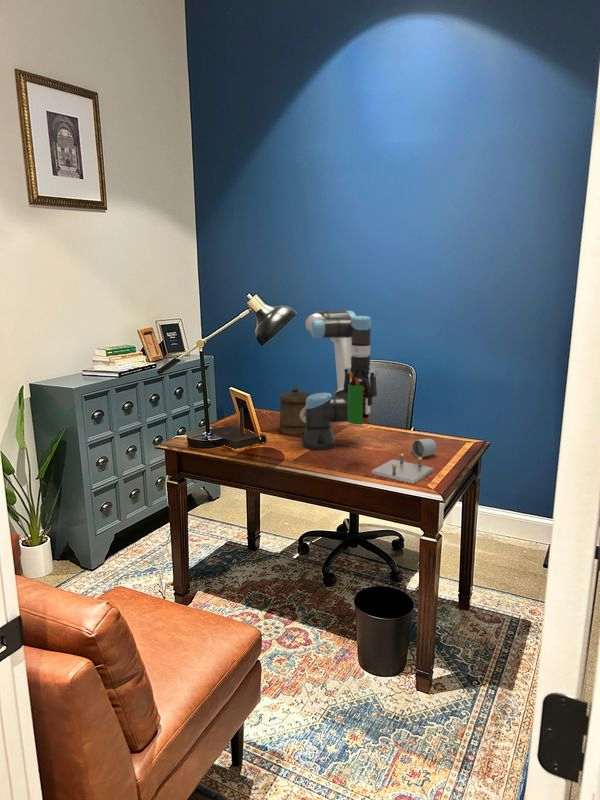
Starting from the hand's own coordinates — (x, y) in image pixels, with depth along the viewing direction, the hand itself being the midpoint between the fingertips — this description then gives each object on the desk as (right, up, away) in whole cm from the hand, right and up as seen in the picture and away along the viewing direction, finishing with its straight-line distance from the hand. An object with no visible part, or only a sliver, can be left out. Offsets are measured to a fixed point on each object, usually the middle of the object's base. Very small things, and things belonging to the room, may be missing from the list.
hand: (359, 411), depth 244 cm
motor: (0, -4, +1) cm, 4 cm away
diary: (-55, -15, +36) cm, 67 cm away
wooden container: (-26, -10, +53) cm, 60 cm away
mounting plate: (+16, -24, -7) cm, 30 cm away
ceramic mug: (+28, -19, +14) cm, 37 cm away
